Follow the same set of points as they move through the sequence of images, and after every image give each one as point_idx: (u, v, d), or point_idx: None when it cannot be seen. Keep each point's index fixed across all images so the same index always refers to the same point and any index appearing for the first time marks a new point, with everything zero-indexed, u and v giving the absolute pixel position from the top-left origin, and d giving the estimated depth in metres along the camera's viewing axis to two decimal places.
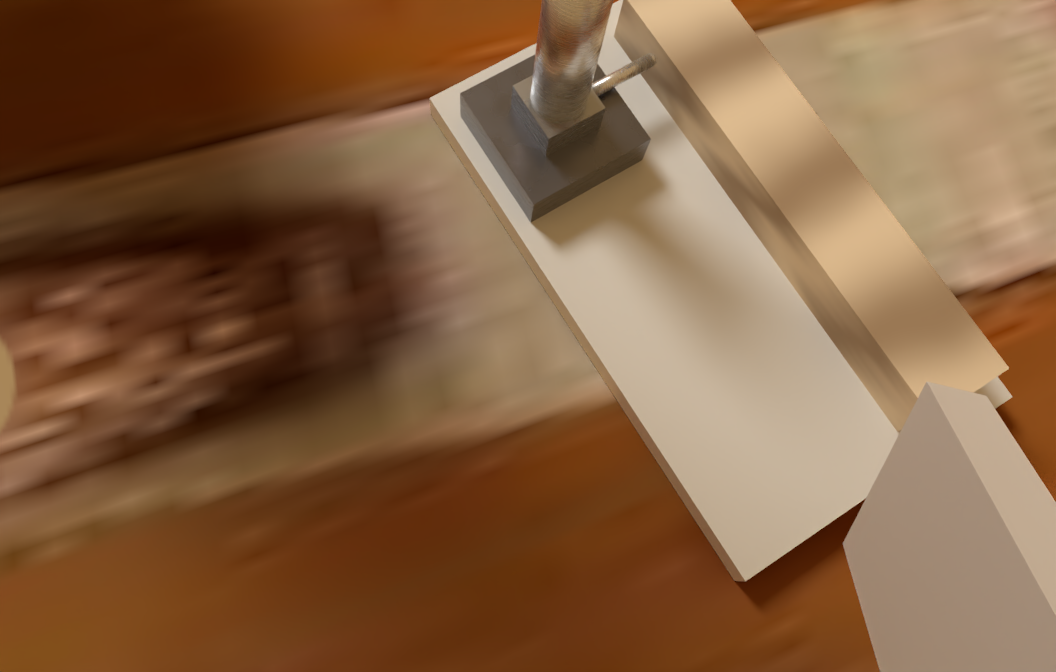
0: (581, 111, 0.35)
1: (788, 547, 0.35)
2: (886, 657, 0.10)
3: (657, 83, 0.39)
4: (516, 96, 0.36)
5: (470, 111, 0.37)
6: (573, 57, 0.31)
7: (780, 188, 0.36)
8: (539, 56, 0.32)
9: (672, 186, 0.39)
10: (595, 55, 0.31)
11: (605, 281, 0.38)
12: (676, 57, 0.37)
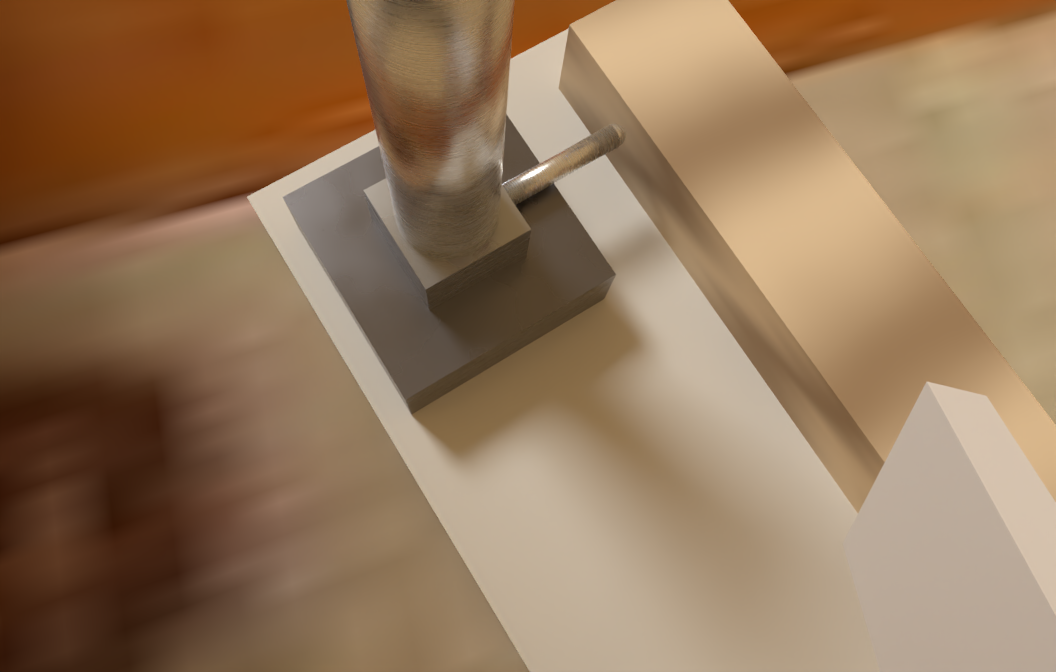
0: (485, 238, 0.19)
1: None
2: (886, 656, 0.10)
3: (629, 169, 0.23)
4: (371, 207, 0.20)
5: (300, 227, 0.21)
6: (439, 164, 0.15)
7: (847, 370, 0.20)
8: (382, 155, 0.16)
9: (654, 344, 0.23)
10: (489, 155, 0.16)
11: (538, 520, 0.22)
12: (659, 132, 0.21)
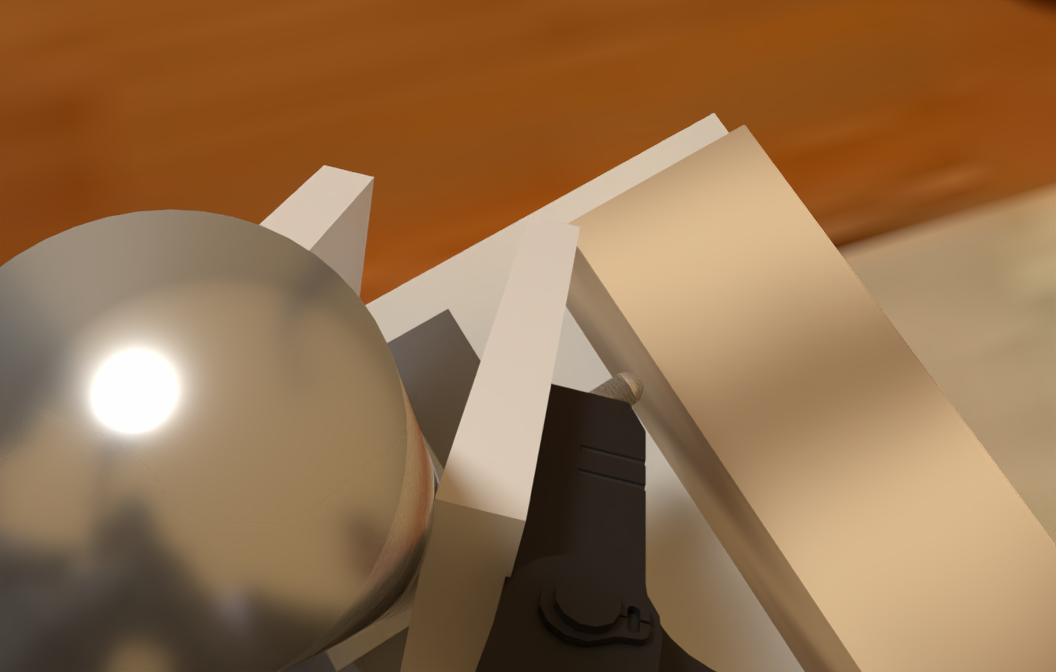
0: None
1: None
2: None
3: (647, 411, 0.17)
4: None
5: None
6: None
7: None
8: None
9: None
10: (412, 596, 0.09)
11: None
12: (693, 392, 0.15)
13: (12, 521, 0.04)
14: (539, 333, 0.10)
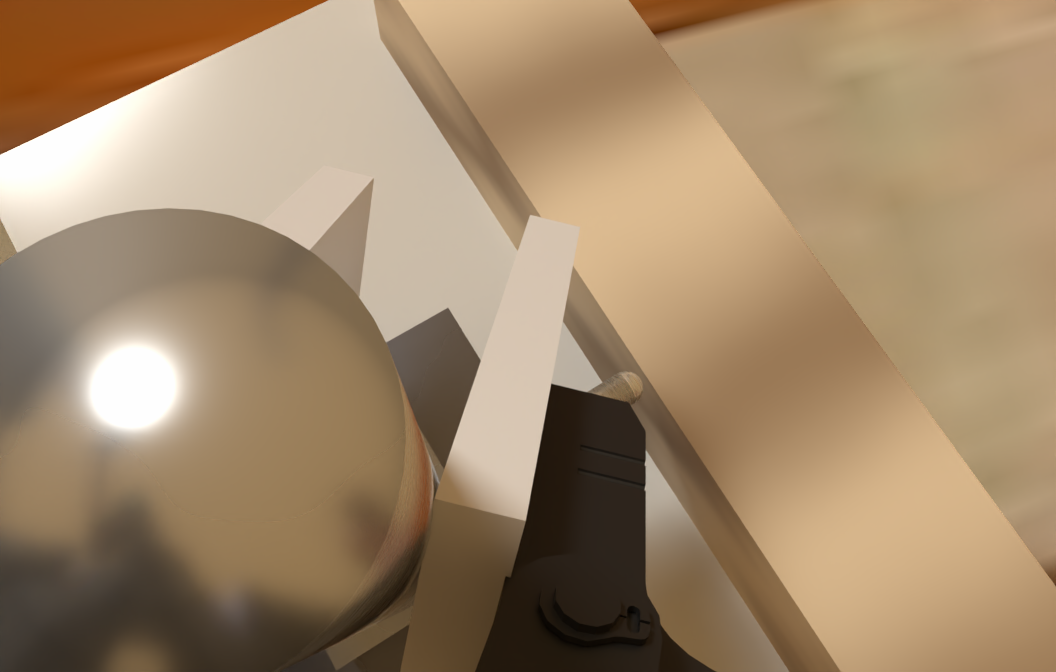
0: None
1: None
2: None
3: (454, 137, 0.19)
4: None
5: None
6: None
7: (697, 395, 0.15)
8: None
9: (479, 357, 0.18)
10: (411, 595, 0.09)
11: None
12: (470, 86, 0.17)
13: (10, 519, 0.04)
14: (540, 333, 0.10)
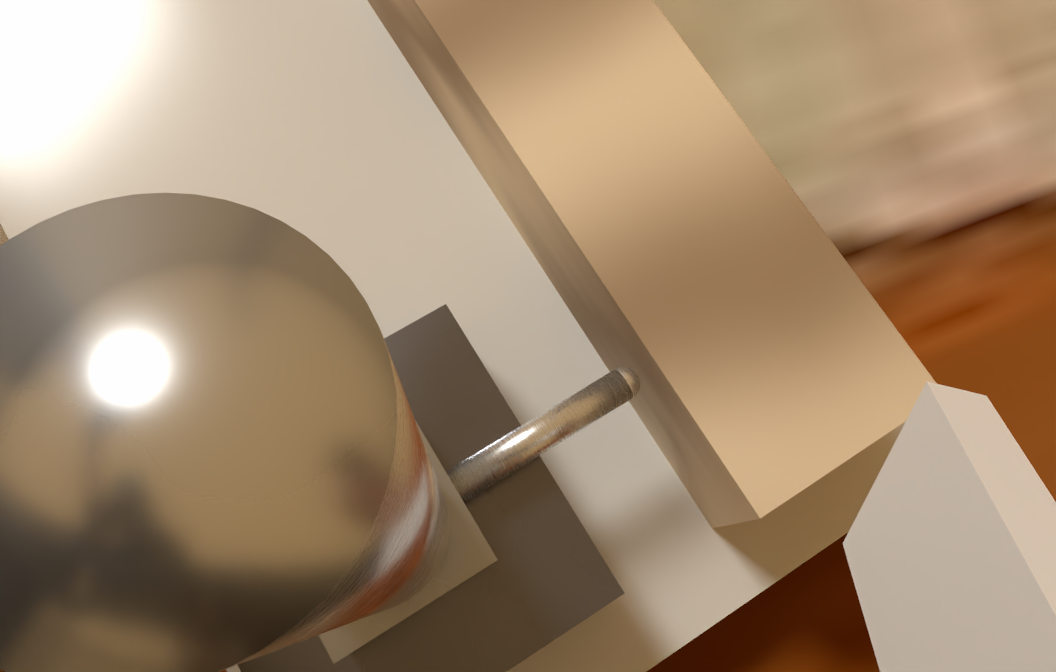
0: (426, 583, 0.13)
1: None
2: (886, 657, 0.10)
3: None
4: None
5: None
6: None
7: None
8: None
9: (283, 25, 0.19)
10: (407, 585, 0.09)
11: None
12: None
13: (7, 497, 0.04)
14: None
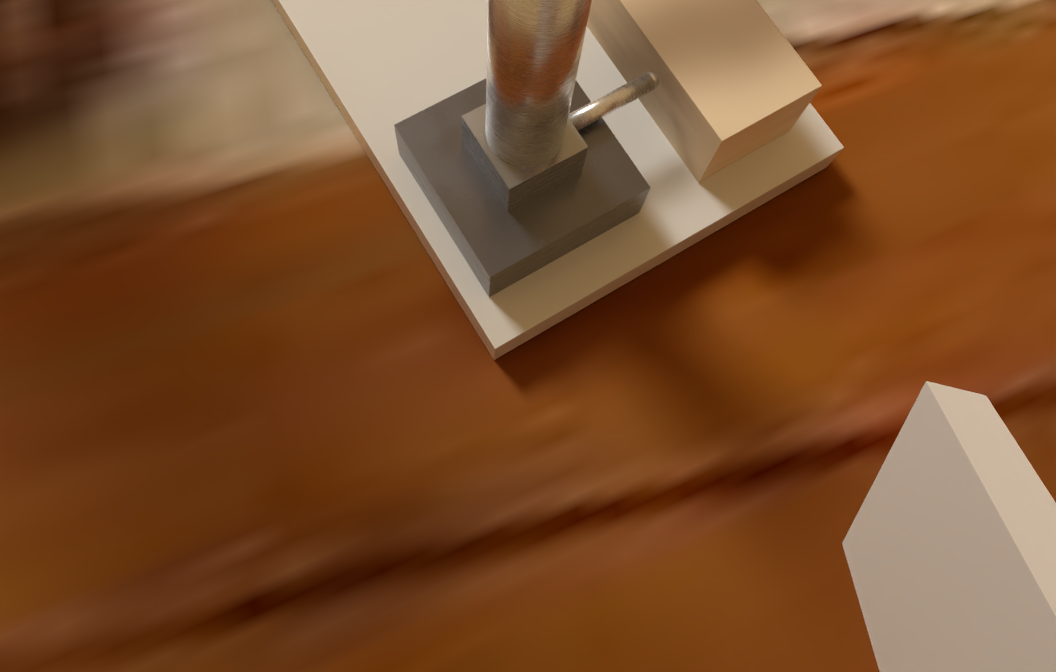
0: (554, 152, 0.26)
1: (552, 311, 0.28)
2: (885, 656, 0.10)
3: None
4: (466, 130, 0.26)
5: (407, 149, 0.28)
6: (536, 80, 0.21)
7: None
8: (490, 77, 0.22)
9: None
10: (569, 77, 0.22)
11: (351, 8, 0.31)
12: None
13: None
14: None
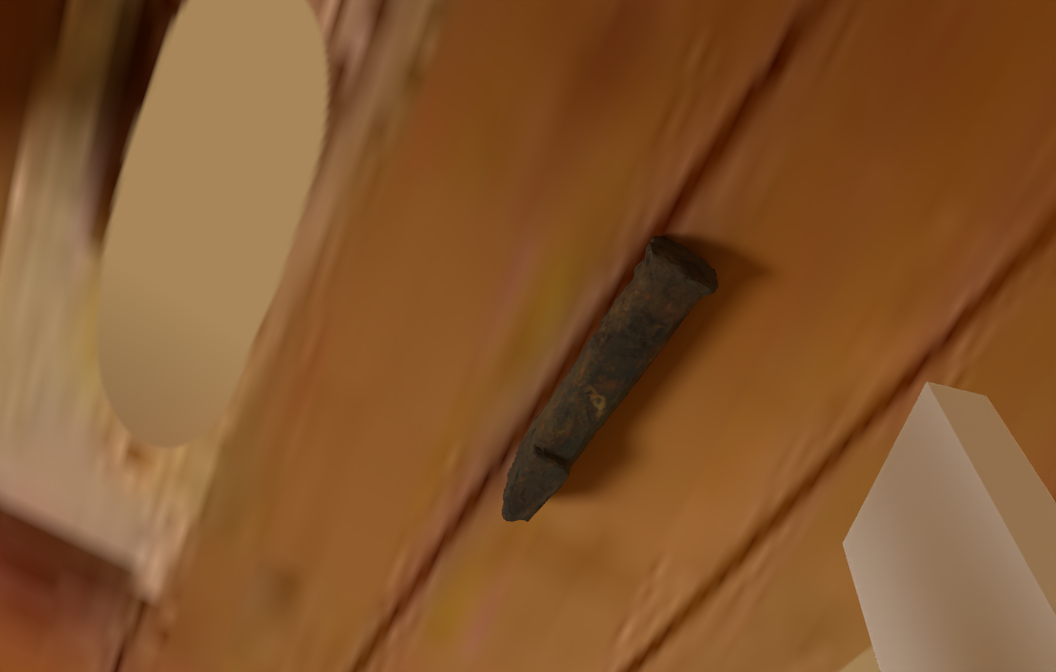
0: None
1: None
2: (885, 656, 0.10)
3: None
4: None
5: None
6: None
7: None
8: None
9: None
10: None
11: None
12: None
13: None
14: None
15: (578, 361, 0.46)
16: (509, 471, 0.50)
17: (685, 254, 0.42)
